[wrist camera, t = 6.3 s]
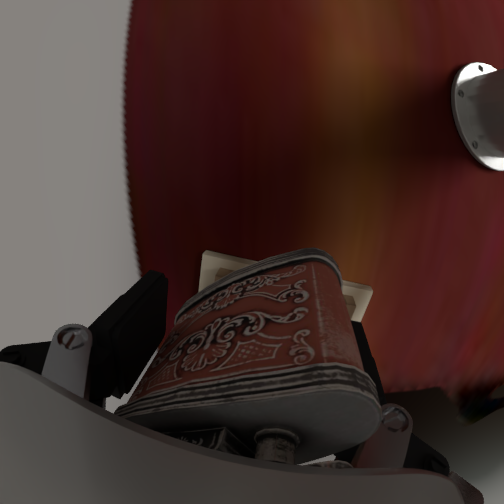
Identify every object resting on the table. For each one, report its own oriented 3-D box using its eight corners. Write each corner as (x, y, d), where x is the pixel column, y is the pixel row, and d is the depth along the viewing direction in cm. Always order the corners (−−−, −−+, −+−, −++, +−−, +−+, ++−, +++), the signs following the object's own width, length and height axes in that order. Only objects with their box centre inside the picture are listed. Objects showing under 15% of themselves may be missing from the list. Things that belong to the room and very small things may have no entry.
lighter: (203, 351, 14) (132, 522, 5) (167, 301, 13) (49, 470, 4) (350, 295, 12) (406, 526, 2) (321, 230, 11) (389, 500, 2)
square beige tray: (370, 286, 28) (377, 301, 25) (324, 385, 34) (325, 403, 31) (205, 250, 29) (196, 261, 26) (195, 358, 35) (187, 374, 32)
